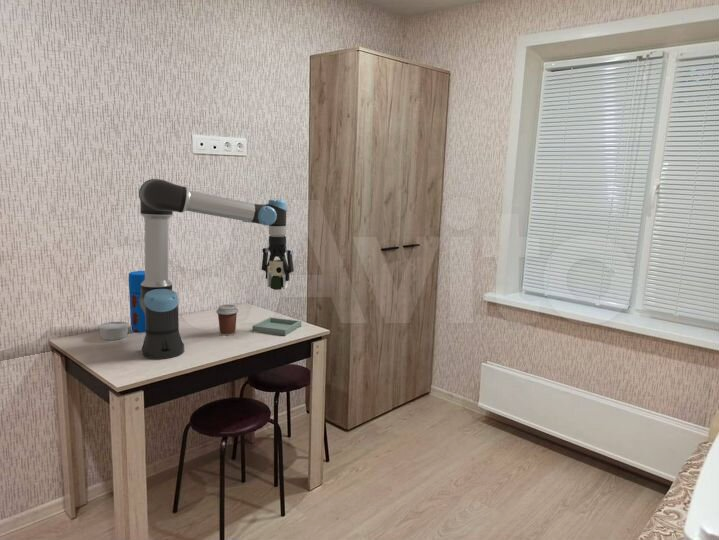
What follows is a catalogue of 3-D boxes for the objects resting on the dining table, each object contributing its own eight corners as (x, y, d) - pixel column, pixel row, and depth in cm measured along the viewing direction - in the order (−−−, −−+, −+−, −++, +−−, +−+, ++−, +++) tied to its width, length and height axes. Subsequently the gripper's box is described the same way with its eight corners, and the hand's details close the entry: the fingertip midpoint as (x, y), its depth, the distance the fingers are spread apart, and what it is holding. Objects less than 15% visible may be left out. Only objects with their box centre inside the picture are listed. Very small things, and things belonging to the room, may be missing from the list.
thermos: (125, 331, 221) (122, 273, 216) (142, 324, 231) (140, 269, 226) (146, 333, 217) (144, 275, 213) (163, 327, 228) (161, 271, 223)
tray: (285, 335, 220) (285, 330, 220) (252, 331, 225) (252, 325, 225) (301, 326, 235) (301, 320, 235) (270, 322, 240) (270, 317, 240)
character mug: (273, 292, 221) (273, 262, 218) (262, 290, 225) (262, 260, 223) (292, 289, 229) (292, 260, 227) (281, 286, 233) (281, 258, 231)
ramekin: (130, 332, 219) (129, 320, 218) (128, 340, 209) (127, 327, 208) (101, 334, 215) (100, 322, 214) (97, 342, 205) (96, 329, 204)
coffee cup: (217, 337, 215) (216, 309, 213) (216, 331, 224) (215, 304, 222) (239, 335, 218) (239, 308, 216) (237, 329, 227) (237, 303, 225)
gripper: (302, 236, 223) (301, 287, 227) (261, 233, 230) (261, 283, 233) (294, 237, 216) (294, 290, 220) (252, 234, 223) (253, 286, 226)
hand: (277, 287), depth 227 cm, fingers closed on character mug, 7 cm apart
